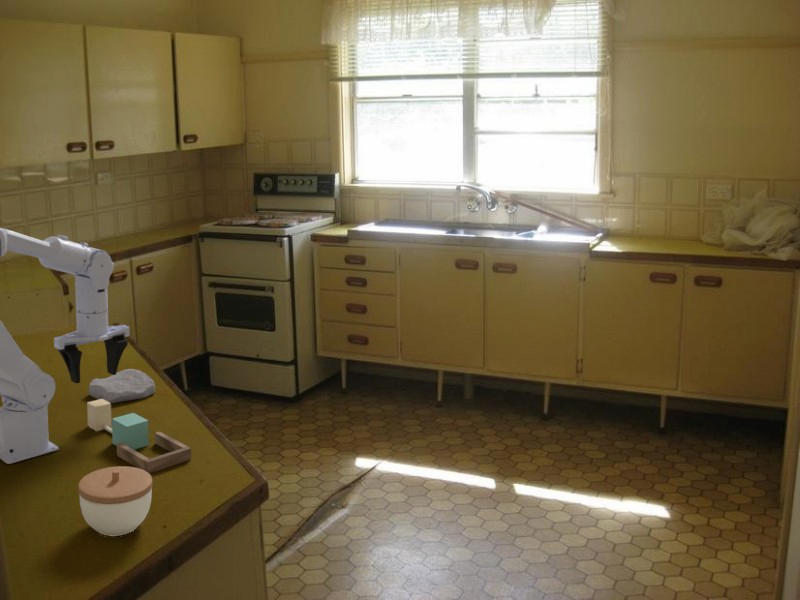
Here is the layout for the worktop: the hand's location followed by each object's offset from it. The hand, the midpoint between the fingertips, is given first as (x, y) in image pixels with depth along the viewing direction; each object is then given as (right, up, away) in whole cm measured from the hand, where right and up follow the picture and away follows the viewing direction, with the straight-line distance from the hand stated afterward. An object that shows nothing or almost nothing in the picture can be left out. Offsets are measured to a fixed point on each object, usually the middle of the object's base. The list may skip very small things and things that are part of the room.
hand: (94, 377), depth 168 cm
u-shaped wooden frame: (+14, -14, -10) cm, 22 cm away
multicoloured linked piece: (+5, -11, -2) cm, 12 cm away
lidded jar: (+16, -20, -34) cm, 43 cm away
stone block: (0, -6, +19) cm, 20 cm away
